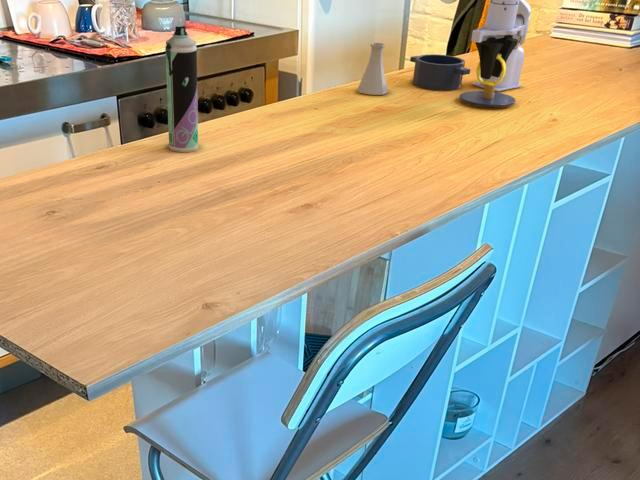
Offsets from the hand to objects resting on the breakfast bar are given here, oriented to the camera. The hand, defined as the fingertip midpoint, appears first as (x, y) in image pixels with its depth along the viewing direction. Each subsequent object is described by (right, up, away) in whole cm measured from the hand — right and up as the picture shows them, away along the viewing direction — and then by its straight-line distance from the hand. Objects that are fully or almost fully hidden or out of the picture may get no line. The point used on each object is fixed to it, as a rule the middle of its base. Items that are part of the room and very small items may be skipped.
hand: (489, 77), depth 172 cm
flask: (-22, +6, +18) cm, 30 cm away
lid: (+3, +2, +13) cm, 14 cm away
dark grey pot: (-6, +12, +26) cm, 29 cm away
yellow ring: (0, -1, +1) cm, 2 cm away
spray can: (-63, -24, -19) cm, 70 cm away
